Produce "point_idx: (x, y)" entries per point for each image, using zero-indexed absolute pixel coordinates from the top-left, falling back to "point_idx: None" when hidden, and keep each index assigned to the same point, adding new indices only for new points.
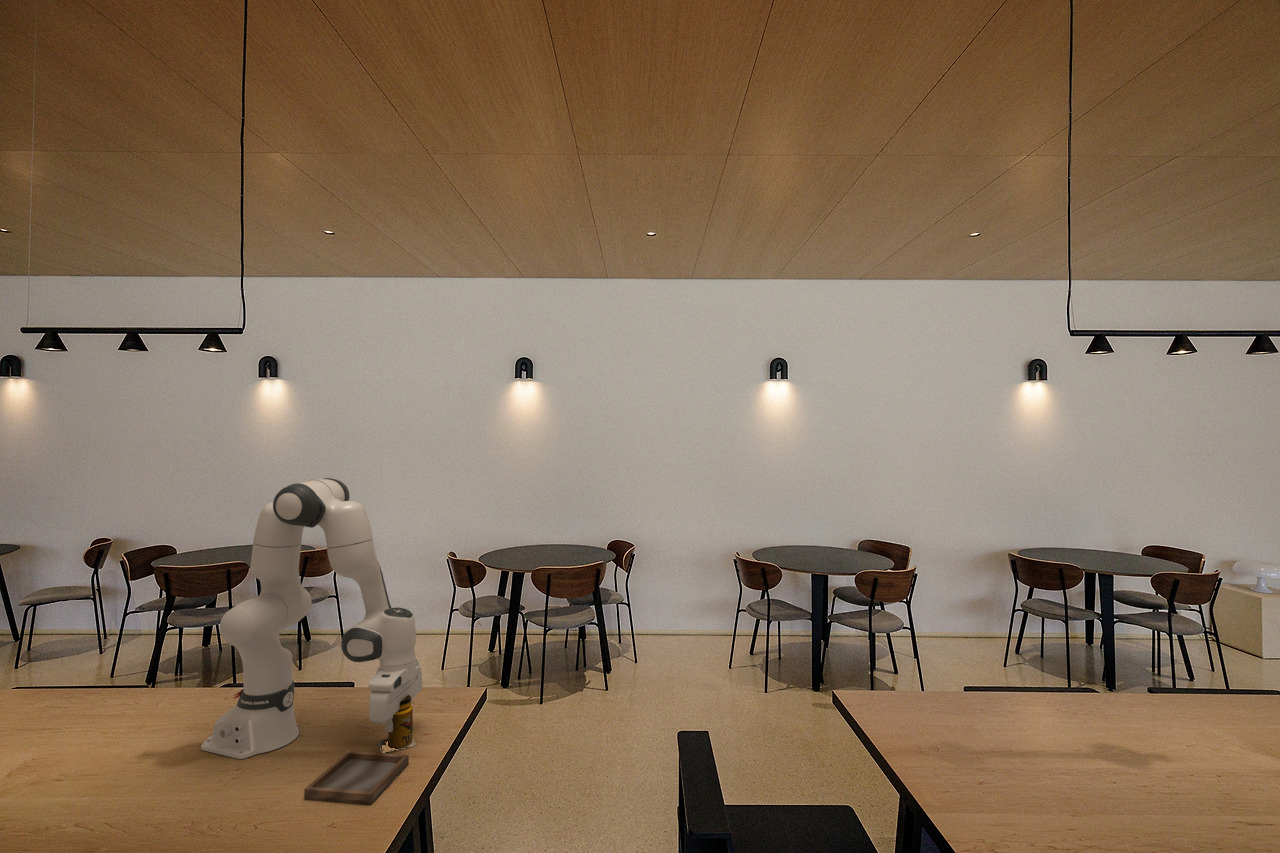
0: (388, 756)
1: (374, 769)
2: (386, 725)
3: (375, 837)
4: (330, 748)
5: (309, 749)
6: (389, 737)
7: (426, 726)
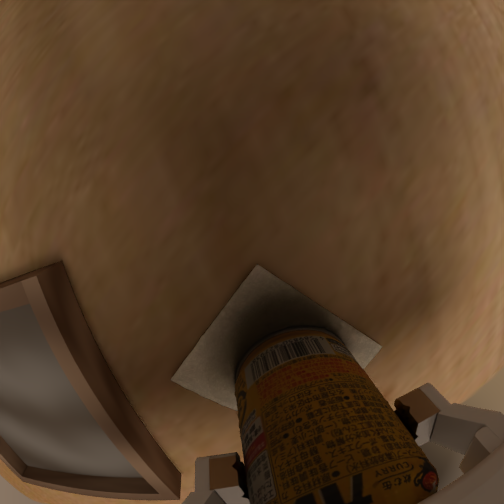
0: (130, 463)
1: (78, 429)
2: (198, 492)
3: (19, 488)
4: (107, 65)
5: (81, 2)
6: (241, 401)
7: (435, 348)
